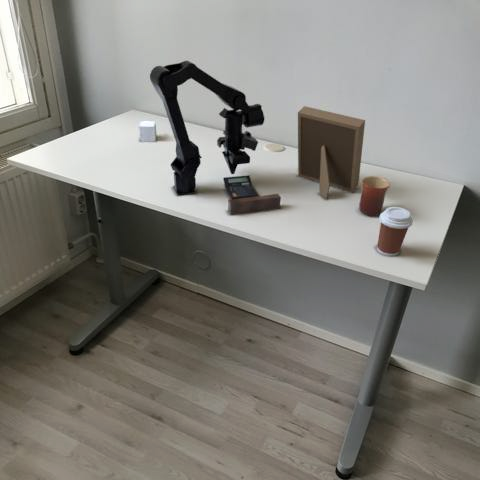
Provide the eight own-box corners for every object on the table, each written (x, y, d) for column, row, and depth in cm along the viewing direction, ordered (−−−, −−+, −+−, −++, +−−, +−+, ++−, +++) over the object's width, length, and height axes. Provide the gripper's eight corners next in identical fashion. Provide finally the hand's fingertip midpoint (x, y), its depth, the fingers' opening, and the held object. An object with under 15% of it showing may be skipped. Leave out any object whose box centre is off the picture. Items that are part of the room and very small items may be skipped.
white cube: (156, 136, 206) (155, 121, 202) (155, 141, 202) (154, 126, 198) (142, 135, 206) (140, 121, 202) (140, 141, 201) (139, 126, 197)
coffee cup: (405, 260, 138) (416, 222, 131) (372, 256, 139) (381, 218, 132) (402, 243, 145) (413, 206, 138) (371, 239, 146) (380, 203, 139)
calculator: (231, 199, 164) (231, 191, 162) (223, 185, 172) (223, 177, 170) (258, 197, 166) (258, 189, 164) (248, 182, 174) (249, 174, 172)
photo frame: (303, 172, 182) (312, 102, 166) (357, 188, 173) (372, 115, 157) (283, 186, 173) (290, 113, 157) (339, 203, 164) (353, 128, 148)
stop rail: (230, 214, 156) (230, 203, 153) (228, 211, 157) (228, 199, 155) (279, 208, 160) (280, 196, 157) (277, 204, 162) (278, 193, 159)
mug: (375, 221, 155) (382, 190, 149) (351, 212, 159) (356, 182, 153) (392, 208, 163) (399, 178, 156) (368, 199, 167) (374, 170, 160)
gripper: (266, 136, 159) (263, 182, 169) (247, 118, 172) (245, 161, 182) (233, 140, 156) (232, 185, 166) (216, 120, 169) (216, 164, 179)
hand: (232, 173), depth 174 cm, fingers closed
